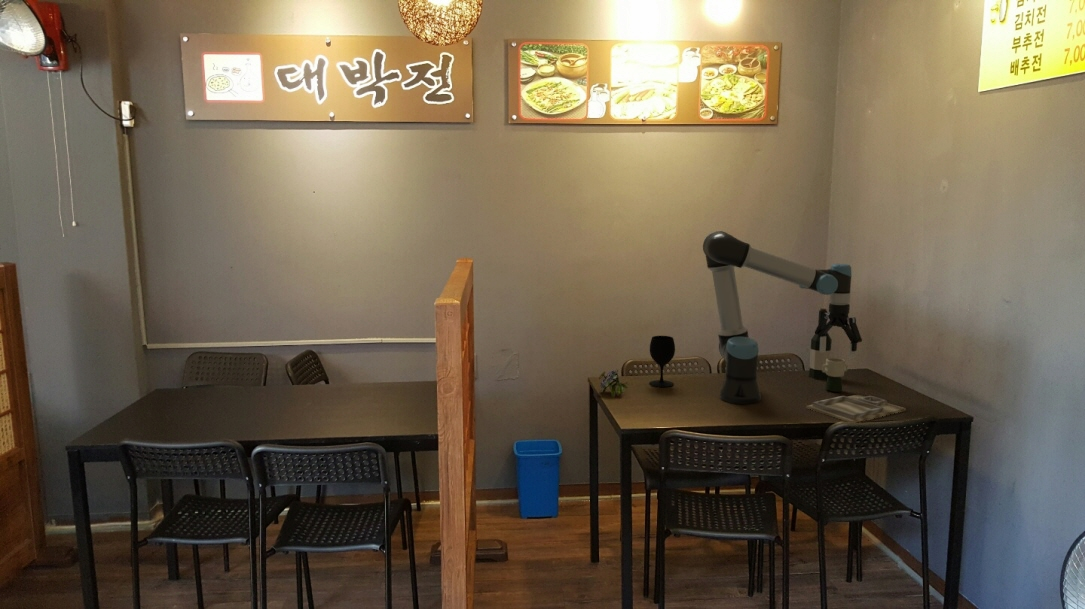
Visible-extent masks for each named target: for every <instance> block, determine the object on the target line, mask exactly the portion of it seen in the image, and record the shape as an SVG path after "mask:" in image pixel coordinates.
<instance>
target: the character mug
mask: <svg viewBox="0 0 1085 609" xmlns="http://www.w3.org/2000/svg"><path fill="white" fill-rule="evenodd" d="M848 370H849V365H848V363H847V362H846V360H845V359H843V358H840V357H831V358H827V359H826V364H824V365H823V366H822V372H825V373H826V374H827V375H829V376H828V378H827V379H826V383H825V387H824V388H825V390H827V391H829V392H836V393H837V392H838V393H839V392H842V391H843V382H842V381H843V380H842V377H844V376H845V372H848Z"/></svg>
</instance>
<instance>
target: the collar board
mask: <svg viewBox="0 0 1085 609" xmlns="http://www.w3.org/2000/svg"><path fill="white" fill-rule="evenodd" d="M805 409H808V410H810V409H811V410H810V411H812V410H813V412H815V411H816V413H818V412H819V413H818V414H821V413H822V415H824V414H826V415H825V416H827V415H829V416H828V417H830V416H832V417H831V418H833V417H835V418H834V419H836V418H838V419H837V420H839V419H841V420H840V421H842V422H845V421H863V422H867V421H870V420H871V421H872V420H875V419H879V418H882V416H883V417H886V415H887V416H891V415H895V414H899V413H902V412H906V411H907V410H906V409H907V408H906V407H903V406H899V405H896V404H892V403H889V402H888V400H887V399H884V398H880V397H878V396H873V395H867V396H865V395H861V394H858V393H857V394H853V395H849V396H847V395H841V396H836V397H830V398H827V399H826V398H825V399H822V400H818V401H817V400H816V401H812V404H809V405H806V407H805ZM898 412H899V413H898ZM894 413H895V414H894ZM890 414H891V415H890ZM874 418H875V419H874ZM866 420H867V421H866Z"/></svg>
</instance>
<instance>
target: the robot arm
mask: <svg viewBox="0 0 1085 609" xmlns="http://www.w3.org/2000/svg"><path fill="white" fill-rule="evenodd" d="M702 250H703V253H704V255H705V260H706V266H707V269H709V270H710V271H711V274H712V279H713V287H714V291H715V298H716V305H717V311H718V316H719V318H718V319H719V324H720V329H719V331H718V332H717V335H718V341H719V343H718V351H719V355H721V357H722V358H723V360H724V361H725V378H724V382H723V385H722V387H721V389H720V391H719V392H720V393H719V397H720V400H723V401H724V402H727V403H731V404H735V405H737V404H738V405H739V404H740V405H753V404H757V403H759V402H761V395H762V394H761V391H760V390H759V385H758V380H757V377H758V360H759V344H758V341H756V340H755V339H753V338H750V337H749V331H748V328H746V327H745V326H744V325H743V318H742V312H741V311H742V310H741V304H740V299H739V292H738V285H737V279H736V278H737V277H736V272H735V267H736V268H739V269H742V268H747V269H751V270H752V271H756V272H759V273H761V274H765V275H767V276H771V277H774V278H777V279H779V280H782V281H786V282H788V283H792V284H794V285H797V286H799V288H800V289H805V290H811V291H814V292H817V293H819V294H820V295H828V297H829V298H828V301H829V304H828V312H827V313H823V314H822V319H821V321H820V323H819V325H818V324H817V327H816V328H815V331H814V335H815V334H817V335H818V336H819V344H820V353H823V352H826V336H825V334H826V333H827V332H829V331H830V330H831V329H832V328H833V327H837V328H841V329H843V331H844V333H845V334H846V337H847V338H848V339H849V341H850V342H849V344H848V356H847V358H848V360H855V355H856V352H857V349H858V343H862V341H863V338H862V336H861V333H860V330H859V328H858V325H857V318H856V317H853V316H852V317H849V314H850V310H851V309H850V308H851V307H850V302H851V285H852V276H853V275H852V266H851V265H850V264H849V263H848V264H847V263H833V264H831V265H830V268H828V269H816V268H815V269H814V268H813V267H809V266H807V265H803V264H800V263H797V262H794V261H792V260H789V259H785V258H783V257H780V256H776V255H774V254H772V253H768V252H765V251H763V250H759V249H756V248H754V247H752V245H751V244H750V243H747V242H745V241H742V240H740V239H738V238H737V237H734V235H732V234H730V233H728V232H726V231H723V230H722V231H721V230H719V231H713V232H711V233H709V234H708V235H707V236H705V238H704V241H703V243H702ZM828 320H829V321H828ZM826 322H827V325H826V326H825V324H826ZM824 326H825V327H824Z"/></svg>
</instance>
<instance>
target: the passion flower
mask: <svg viewBox="0 0 1085 609" xmlns="http://www.w3.org/2000/svg"><path fill="white" fill-rule="evenodd" d="M618 372H619V369H618V368H617V369H615V370H612V371H610V372H608V373H607V371H605V370H604V371H603V372H602V373H601V374H600V375H599V378H598V380H600V379H601V378H602V380H601V381H600V386H599V387H600V389H602V390H601V394H603V393H605V391H606V390H607V388H608V387H609V389H610V394H611V397H613V398H615V396H616V393H617V396H620V395H621V394H623V393H624V390H625V389H628V388H629V381H628V382H624V383H623V382H620V379H619V374H618ZM605 374H606V376H605Z"/></svg>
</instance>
